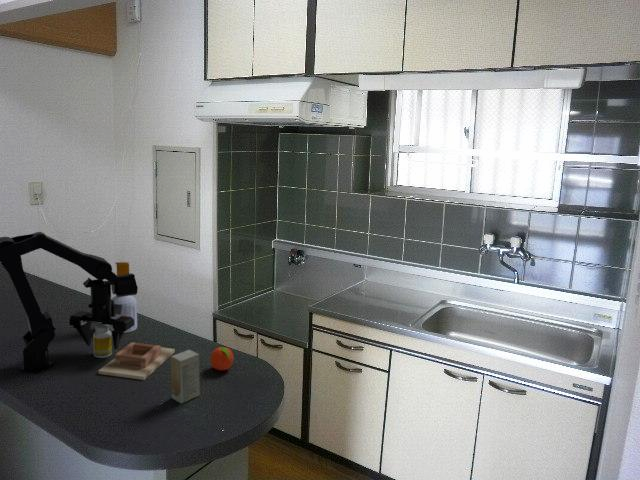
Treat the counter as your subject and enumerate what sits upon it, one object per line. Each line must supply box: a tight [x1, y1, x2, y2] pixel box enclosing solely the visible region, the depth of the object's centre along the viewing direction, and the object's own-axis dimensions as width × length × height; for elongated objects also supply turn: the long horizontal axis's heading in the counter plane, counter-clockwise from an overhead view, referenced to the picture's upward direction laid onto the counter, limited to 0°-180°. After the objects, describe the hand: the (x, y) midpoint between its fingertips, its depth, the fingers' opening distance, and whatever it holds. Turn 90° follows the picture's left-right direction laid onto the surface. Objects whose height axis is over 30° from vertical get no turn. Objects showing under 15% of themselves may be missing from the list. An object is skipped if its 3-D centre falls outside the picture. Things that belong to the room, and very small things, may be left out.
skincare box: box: [170, 349, 200, 404], centre depth 139 cm, size 6×4×12 cm
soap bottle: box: [109, 261, 138, 334], centre depth 181 cm, size 9×9×25 cm
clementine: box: [209, 346, 234, 371], centre depth 156 cm, size 8×7×7 cm
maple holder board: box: [97, 341, 176, 381], centre depth 159 cm, size 20×14×4 cm
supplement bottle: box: [92, 323, 113, 359], centre depth 162 cm, size 5×5×10 cm
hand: (102, 347), depth 162 cm, fingers open, 9 cm apart
